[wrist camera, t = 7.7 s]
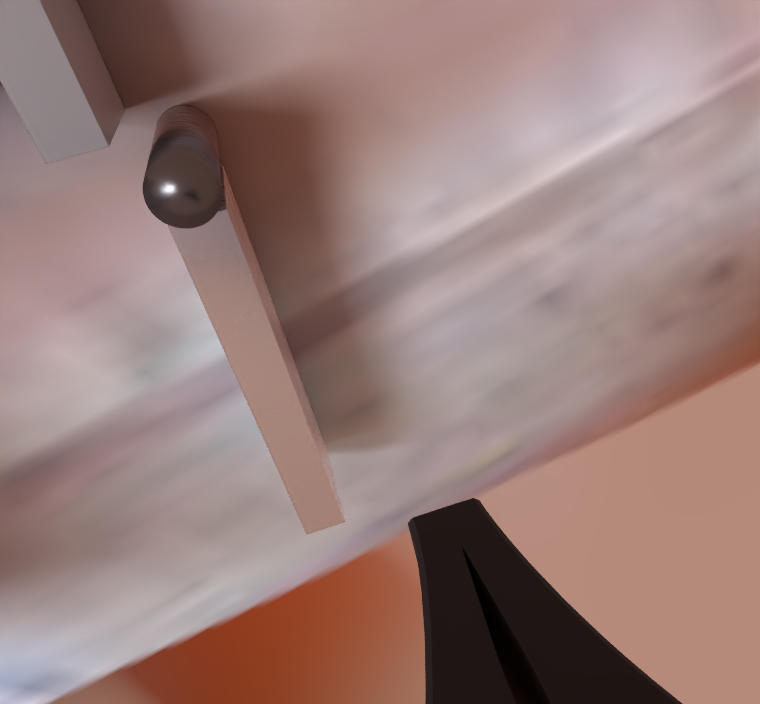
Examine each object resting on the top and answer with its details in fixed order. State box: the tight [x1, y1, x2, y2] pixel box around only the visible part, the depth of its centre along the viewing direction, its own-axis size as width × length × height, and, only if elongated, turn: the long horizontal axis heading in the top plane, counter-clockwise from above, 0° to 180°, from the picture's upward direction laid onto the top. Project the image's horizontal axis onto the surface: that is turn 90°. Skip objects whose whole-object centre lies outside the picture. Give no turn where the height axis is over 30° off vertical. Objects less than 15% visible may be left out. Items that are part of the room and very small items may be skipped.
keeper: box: [143, 105, 345, 534], centre depth 16 cm, size 12×1×4 cm, turn 12°
